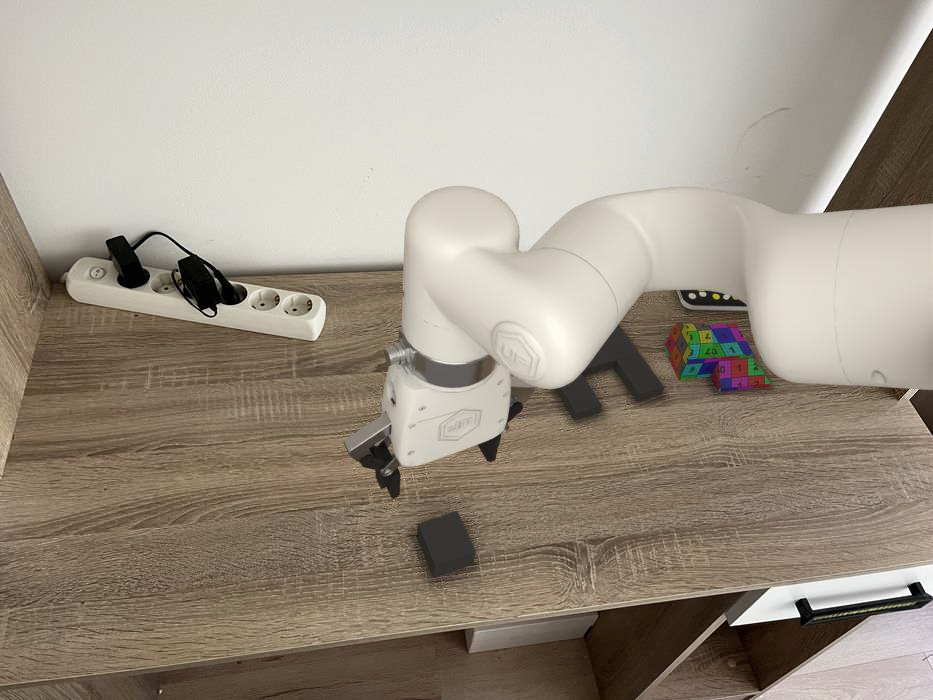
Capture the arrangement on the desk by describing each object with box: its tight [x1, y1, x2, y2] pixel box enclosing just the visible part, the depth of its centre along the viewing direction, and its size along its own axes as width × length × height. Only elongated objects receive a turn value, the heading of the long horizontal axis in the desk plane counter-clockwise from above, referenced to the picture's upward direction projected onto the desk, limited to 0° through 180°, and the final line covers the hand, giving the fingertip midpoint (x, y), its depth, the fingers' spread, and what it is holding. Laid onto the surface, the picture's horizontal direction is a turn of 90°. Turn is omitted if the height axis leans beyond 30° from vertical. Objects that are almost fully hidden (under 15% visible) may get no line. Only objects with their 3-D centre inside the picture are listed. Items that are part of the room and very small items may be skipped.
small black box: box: [416, 510, 477, 579], centre depth 79 cm, size 5×4×3 cm
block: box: [663, 320, 772, 393], centre depth 99 cm, size 12×8×7 cm
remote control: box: [676, 290, 748, 312], centre depth 110 cm, size 6×13×2 cm, turn 94°
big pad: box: [554, 323, 665, 421], centre depth 101 cm, size 22×13×2 cm, turn 23°
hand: (437, 467), depth 69 cm, fingers open, 9 cm apart
